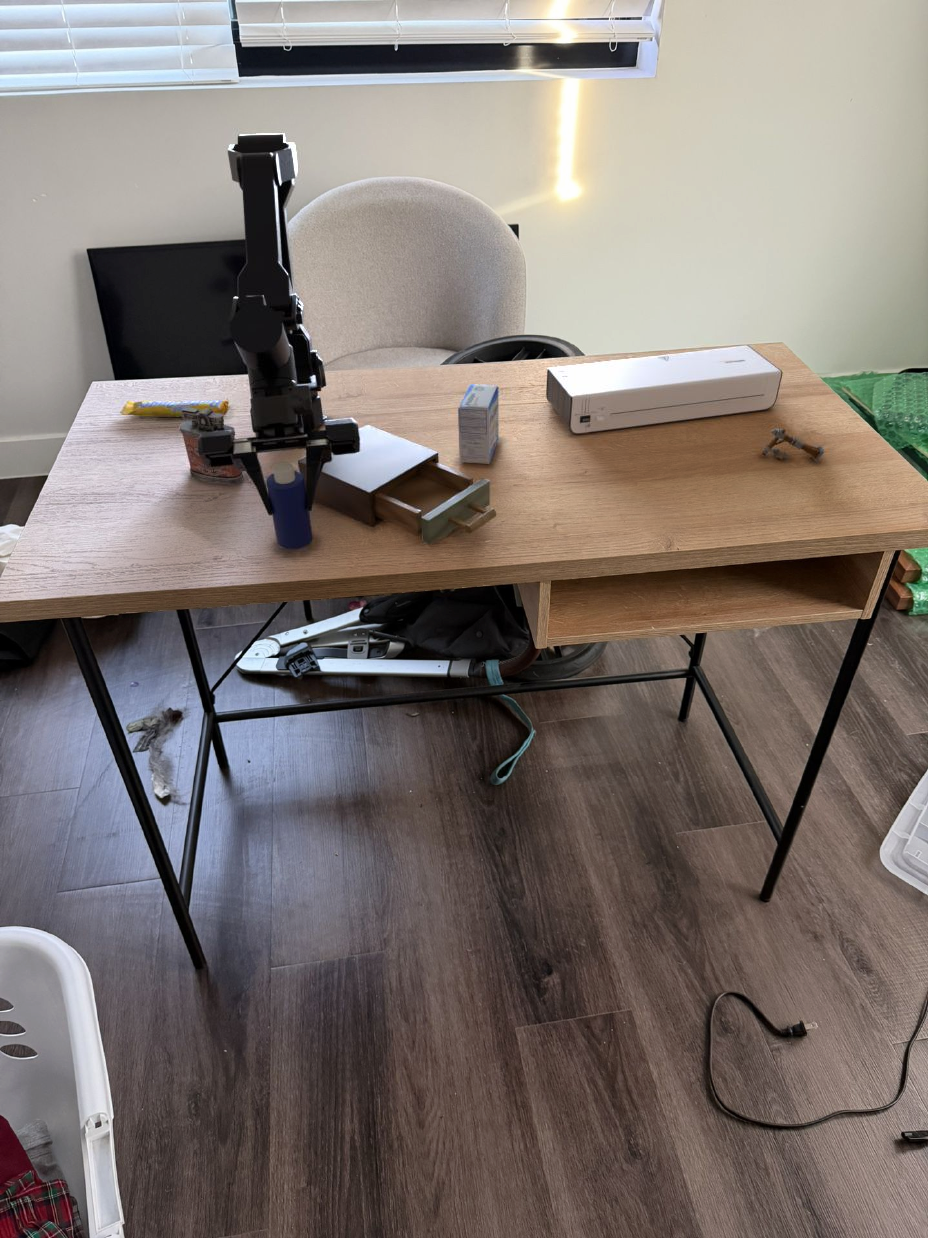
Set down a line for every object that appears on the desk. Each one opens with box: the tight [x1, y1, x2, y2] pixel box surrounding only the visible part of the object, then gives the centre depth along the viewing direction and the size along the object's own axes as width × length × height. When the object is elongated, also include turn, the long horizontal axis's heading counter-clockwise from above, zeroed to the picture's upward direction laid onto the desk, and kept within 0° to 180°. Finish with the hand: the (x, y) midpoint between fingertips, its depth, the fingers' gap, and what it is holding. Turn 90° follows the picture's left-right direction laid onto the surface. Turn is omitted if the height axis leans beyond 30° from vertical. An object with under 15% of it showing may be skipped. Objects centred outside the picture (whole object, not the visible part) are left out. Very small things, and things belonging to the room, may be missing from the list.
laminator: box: [545, 345, 784, 436], centre depth 133 cm, size 34×12×6 cm, turn 104°
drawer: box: [373, 461, 497, 546], centre depth 110 cm, size 16×12×4 cm
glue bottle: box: [265, 461, 314, 551], centre depth 103 cm, size 4×4×10 cm
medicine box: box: [457, 383, 500, 465], centre depth 122 cm, size 8×4×9 cm, turn 168°
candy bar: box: [119, 397, 230, 418], centre depth 136 cm, size 17×4×2 cm, turn 91°
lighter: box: [178, 407, 245, 485], centre depth 117 cm, size 8×3×10 cm, turn 71°
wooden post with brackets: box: [761, 427, 825, 463], centre depth 121 cm, size 2×8×4 cm, turn 86°
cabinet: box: [297, 424, 440, 529], centre depth 115 cm, size 13×13×5 cm
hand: (289, 512), depth 102 cm, fingers closed on glue bottle, 4 cm apart
